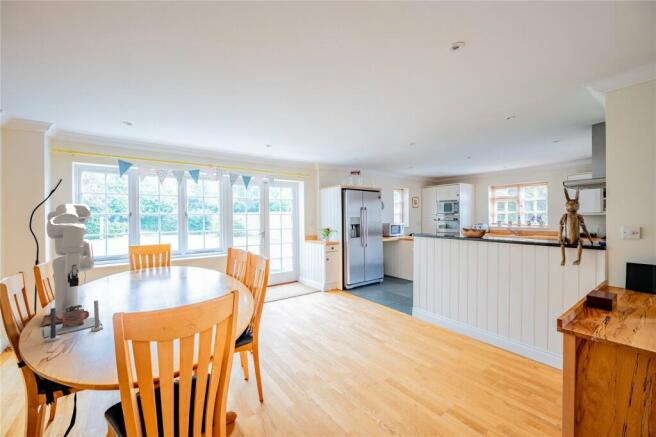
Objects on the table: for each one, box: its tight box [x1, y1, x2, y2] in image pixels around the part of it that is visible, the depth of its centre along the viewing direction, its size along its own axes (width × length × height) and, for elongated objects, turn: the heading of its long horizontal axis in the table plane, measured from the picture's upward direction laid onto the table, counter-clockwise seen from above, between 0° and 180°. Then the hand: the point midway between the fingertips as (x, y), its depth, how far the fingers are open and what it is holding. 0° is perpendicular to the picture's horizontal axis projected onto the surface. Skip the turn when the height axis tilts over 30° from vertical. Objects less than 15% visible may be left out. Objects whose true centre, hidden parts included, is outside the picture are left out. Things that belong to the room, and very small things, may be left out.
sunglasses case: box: [39, 310, 90, 328], centre depth 141 cm, size 18×7×7 cm, turn 121°
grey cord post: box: [90, 299, 104, 332], centre depth 131 cm, size 4×4×14 cm
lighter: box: [62, 304, 85, 328], centre depth 134 cm, size 8×3×10 cm, turn 119°
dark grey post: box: [45, 307, 61, 343], centre depth 120 cm, size 4×4×14 cm
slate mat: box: [43, 317, 103, 339], centre depth 133 cm, size 14×20×1 cm
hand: (73, 284), depth 134 cm, fingers open, 9 cm apart
